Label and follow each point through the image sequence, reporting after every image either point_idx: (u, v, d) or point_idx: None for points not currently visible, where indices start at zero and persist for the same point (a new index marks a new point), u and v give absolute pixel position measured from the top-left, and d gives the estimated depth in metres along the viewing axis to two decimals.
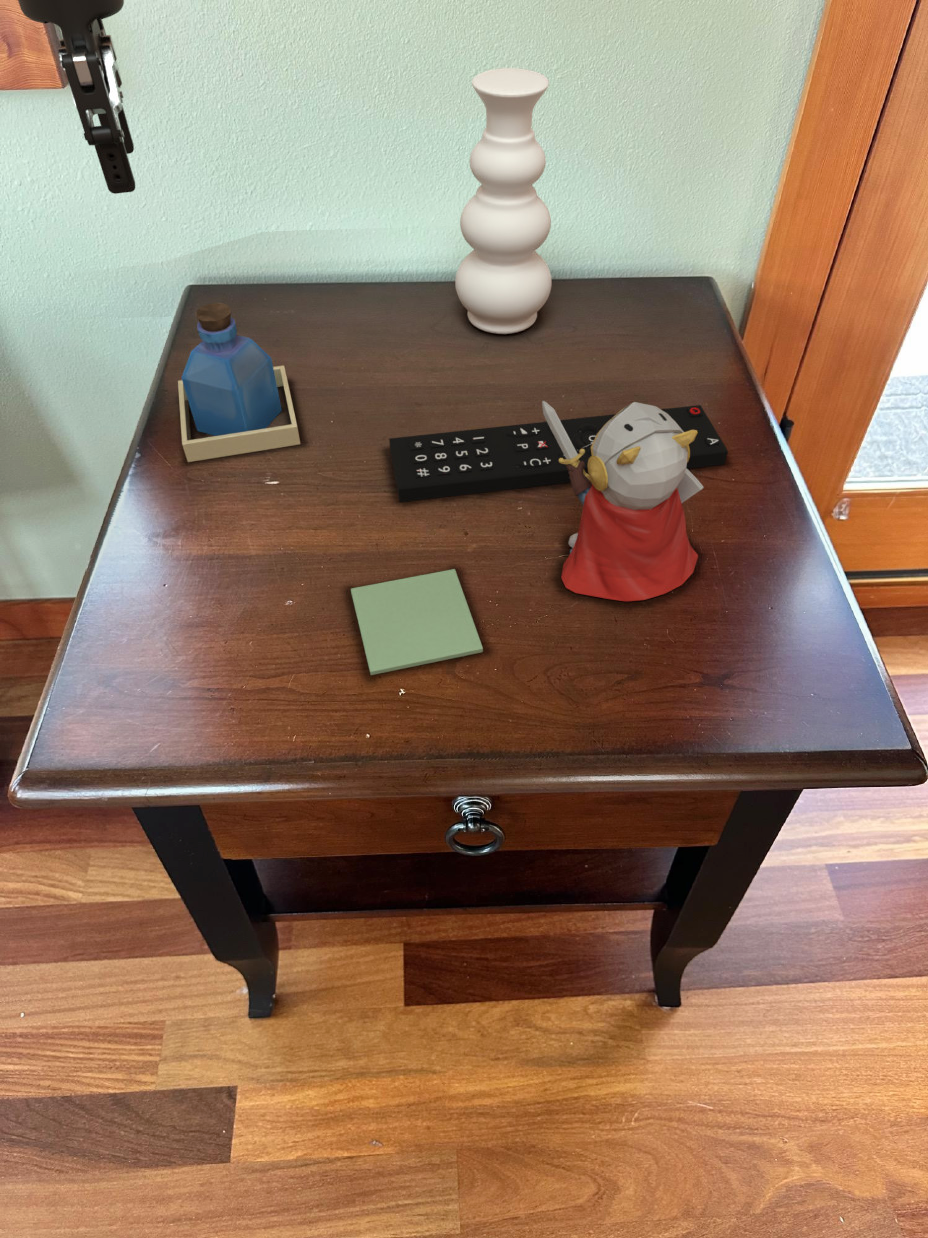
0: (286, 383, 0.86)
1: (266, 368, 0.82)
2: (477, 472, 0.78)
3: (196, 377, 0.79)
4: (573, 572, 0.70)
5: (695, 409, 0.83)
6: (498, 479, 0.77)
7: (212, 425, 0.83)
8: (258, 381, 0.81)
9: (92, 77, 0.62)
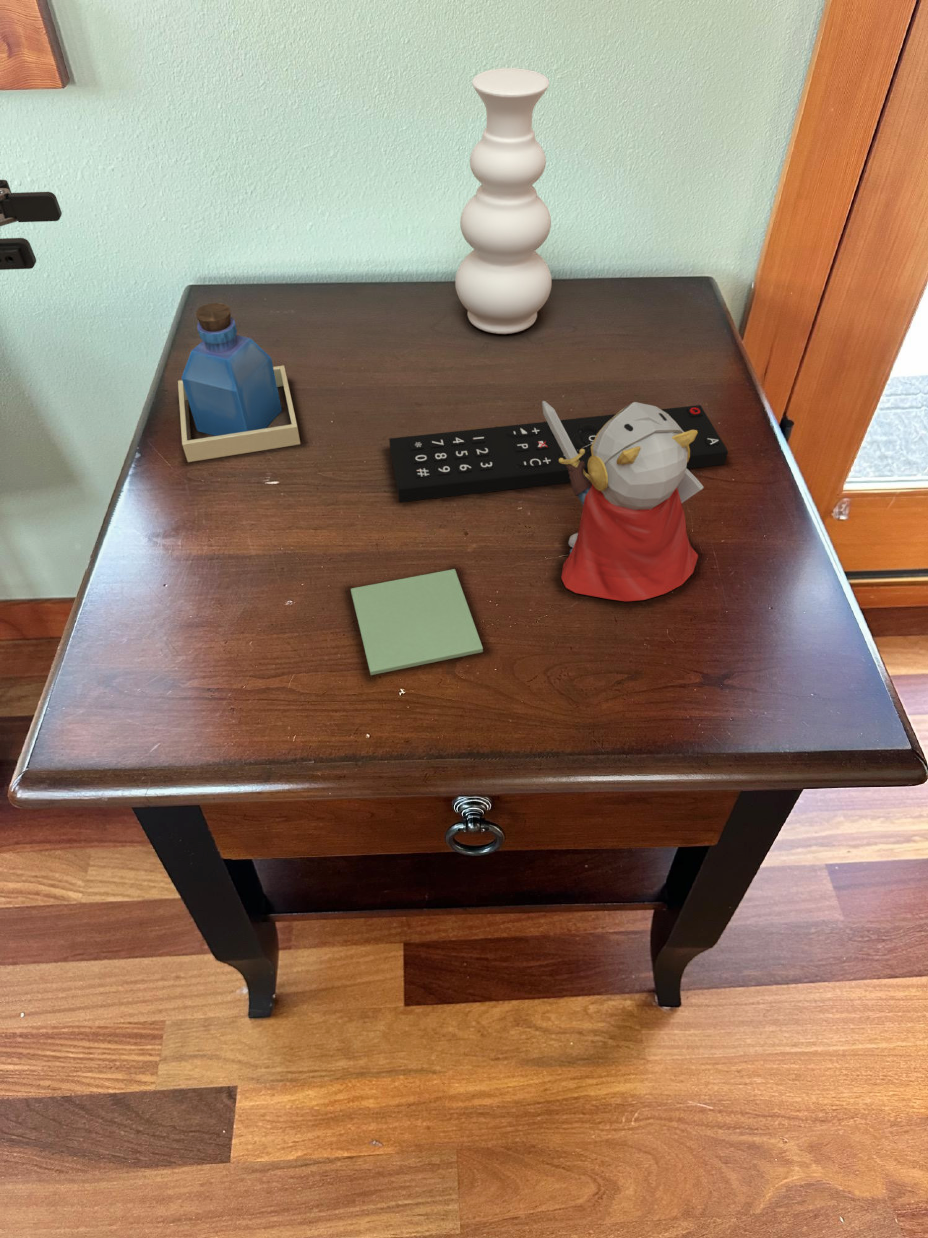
0: (286, 383, 0.86)
1: (266, 368, 0.82)
2: (477, 472, 0.78)
3: (196, 377, 0.79)
4: (573, 572, 0.70)
5: (695, 409, 0.83)
6: (498, 479, 0.77)
7: (212, 425, 0.83)
8: (258, 381, 0.81)
9: None
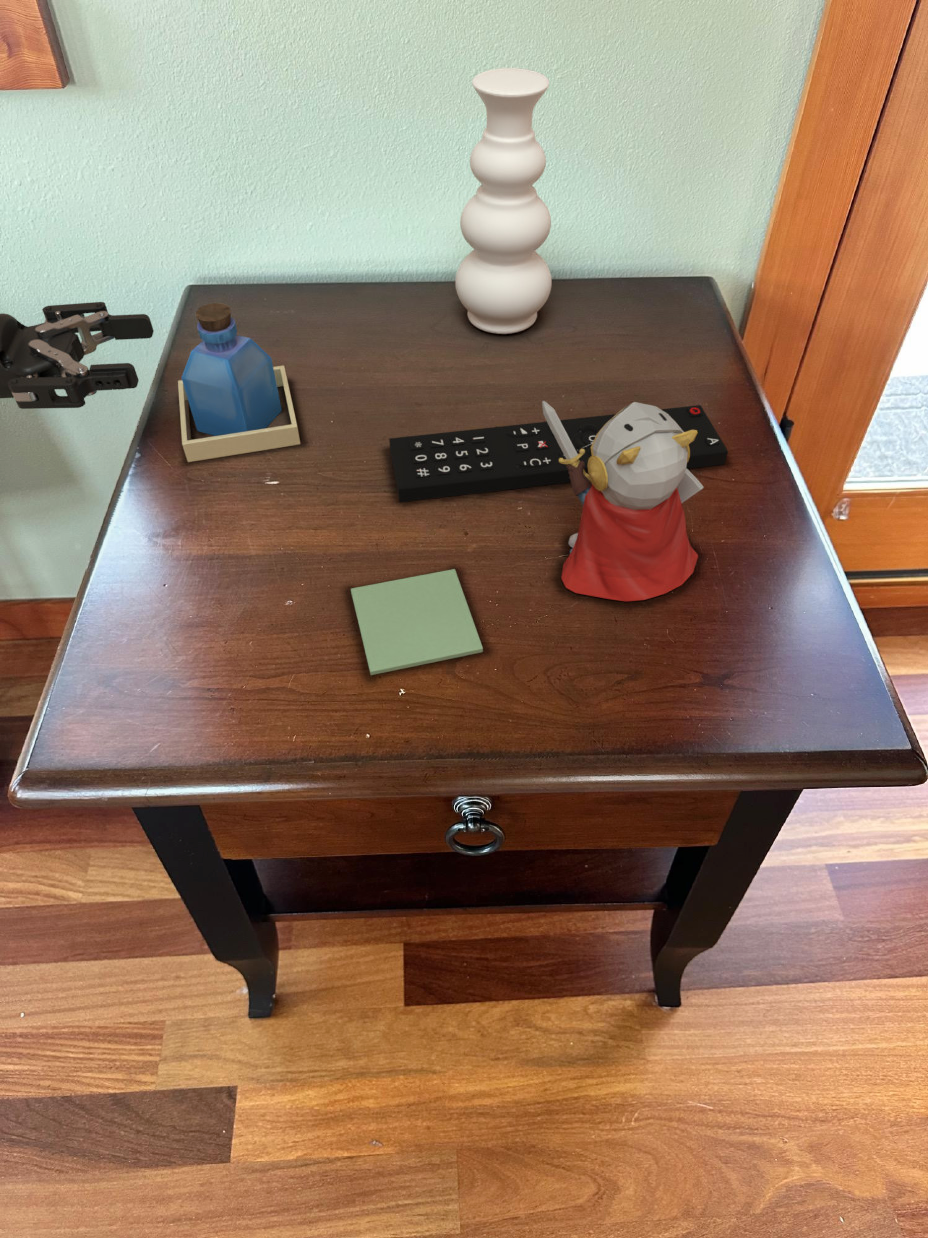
0: (286, 383, 0.86)
1: (266, 368, 0.82)
2: (477, 472, 0.78)
3: (197, 377, 0.79)
4: (573, 572, 0.70)
5: (695, 409, 0.83)
6: (498, 479, 0.77)
7: (212, 425, 0.83)
8: (258, 381, 0.81)
9: None
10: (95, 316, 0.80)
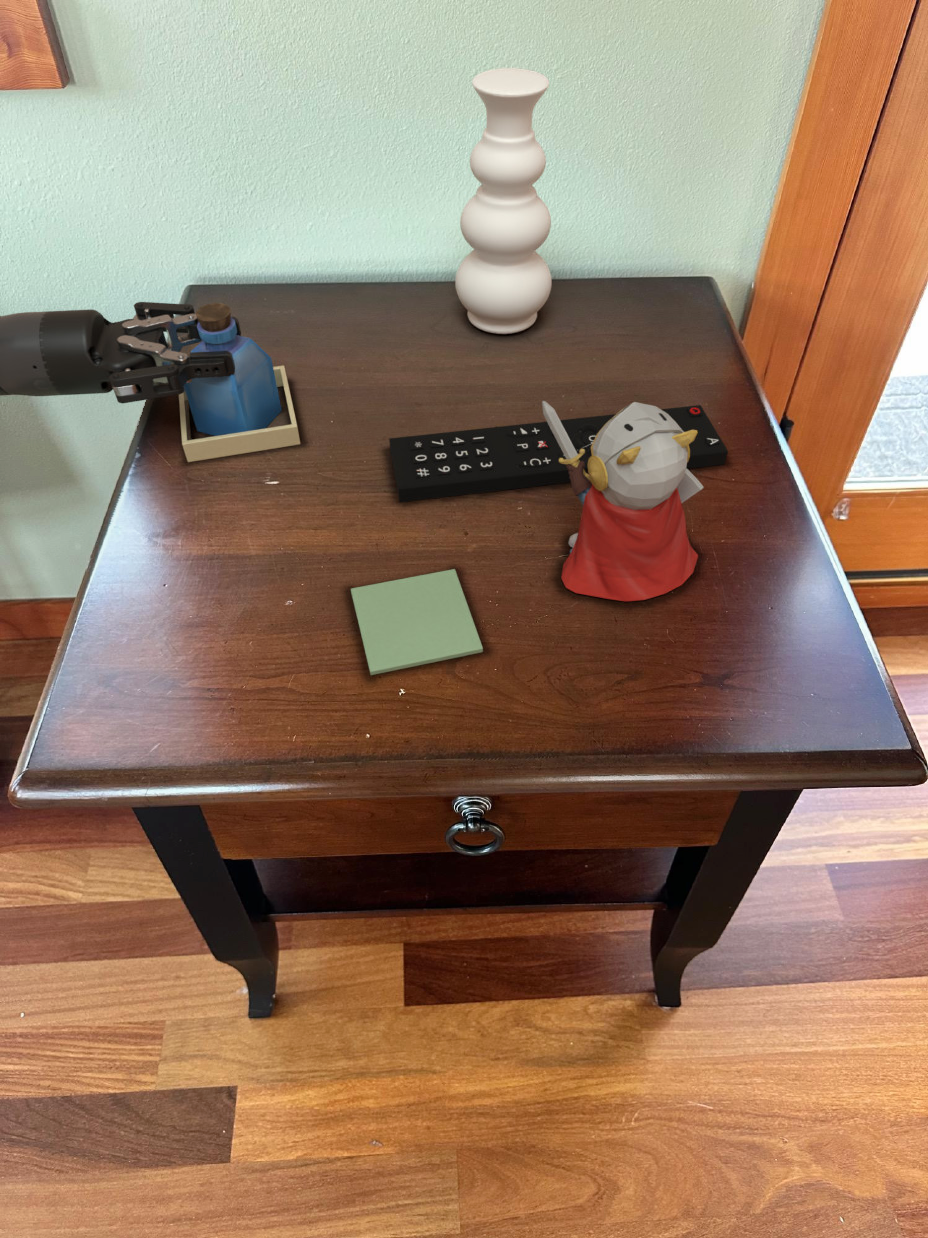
0: (286, 383, 0.86)
1: (266, 368, 0.82)
2: (477, 472, 0.78)
3: None
4: (573, 572, 0.70)
5: (695, 409, 0.83)
6: (498, 479, 0.77)
7: (212, 425, 0.83)
8: (258, 381, 0.81)
9: None
10: (184, 318, 0.80)
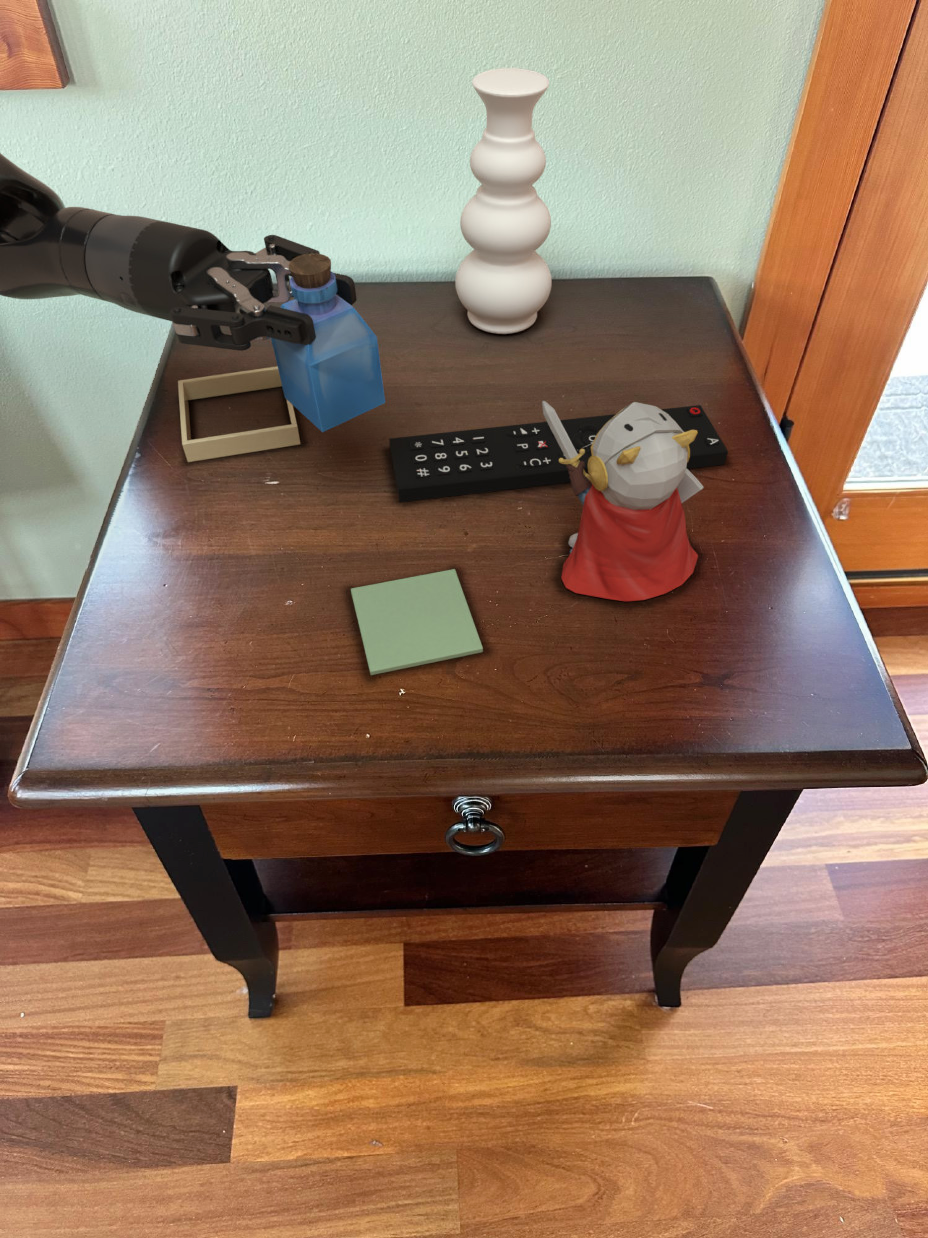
0: None
1: (366, 347, 0.66)
2: (477, 472, 0.78)
3: None
4: (573, 572, 0.70)
5: (695, 409, 0.83)
6: (498, 479, 0.77)
7: (294, 397, 0.69)
8: (348, 361, 0.65)
9: None
10: None
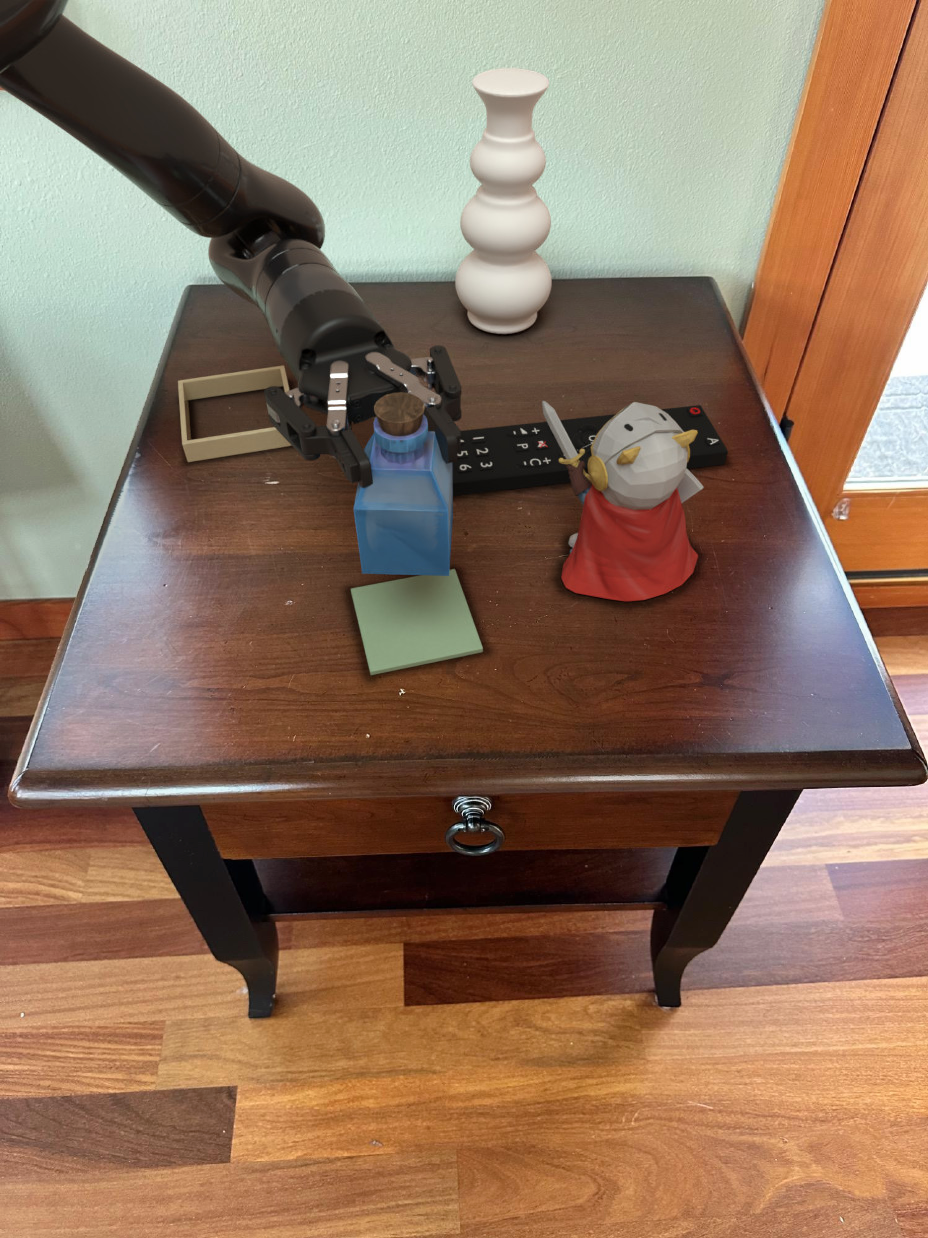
0: (286, 383, 0.86)
1: (431, 516, 0.55)
2: (477, 472, 0.78)
3: None
4: (573, 572, 0.70)
5: (695, 409, 0.83)
6: (498, 479, 0.77)
7: None
8: (405, 521, 0.55)
9: None
10: (425, 394, 0.57)
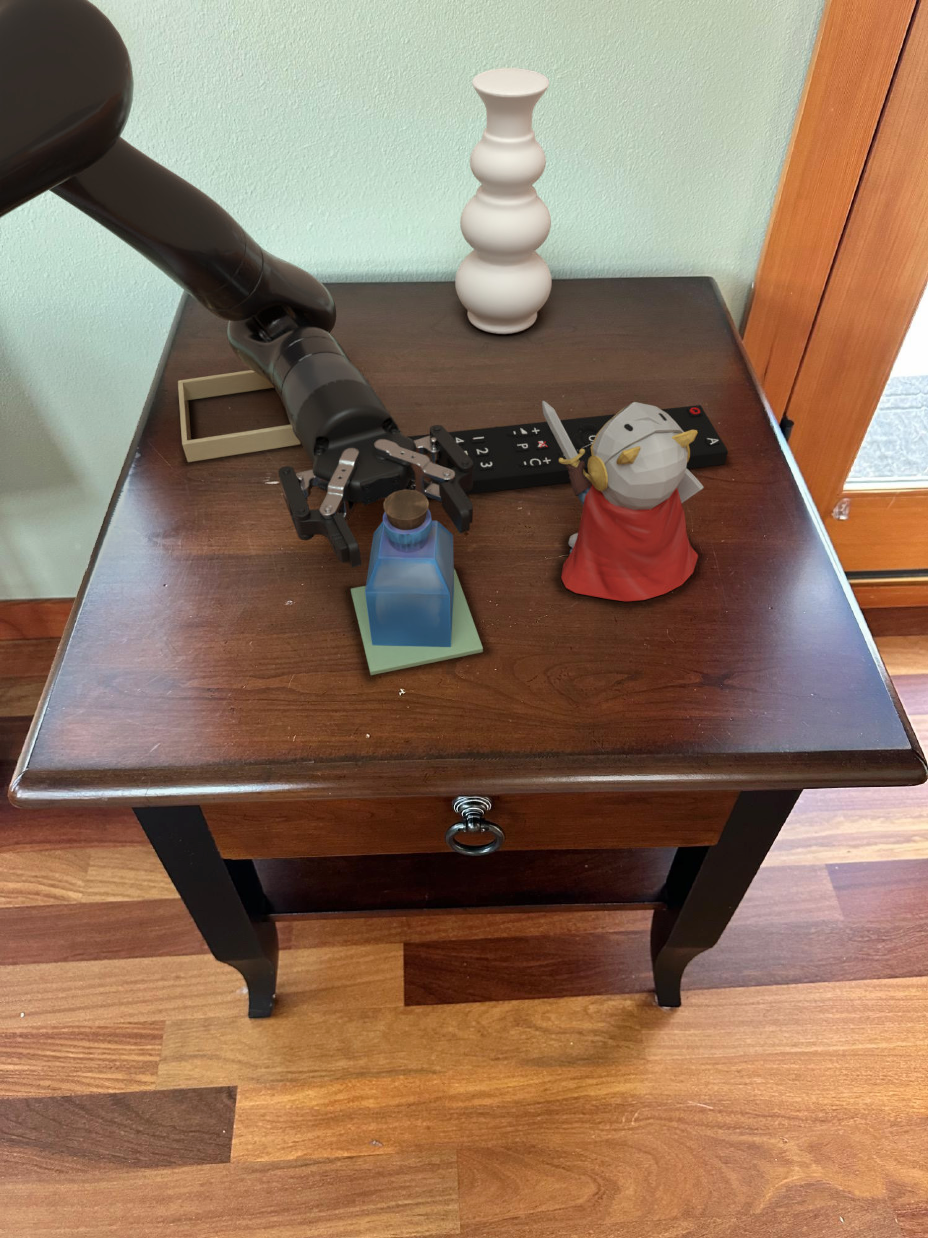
0: None
1: (434, 598, 0.61)
2: (477, 472, 0.78)
3: (372, 546, 0.64)
4: (573, 572, 0.70)
5: (695, 409, 0.83)
6: (498, 479, 0.77)
7: None
8: (411, 602, 0.62)
9: None
10: (439, 471, 0.63)
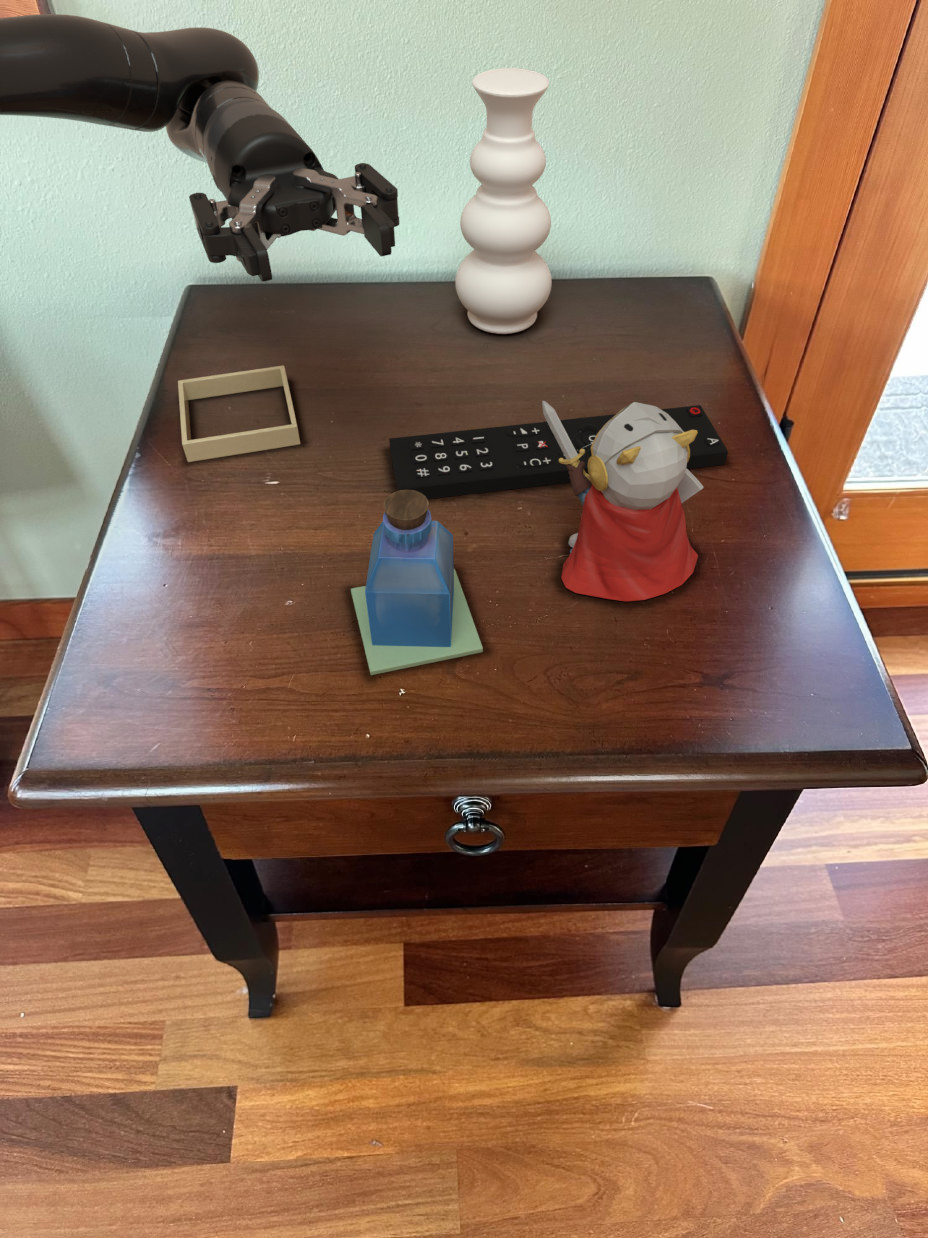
0: (286, 383, 0.86)
1: (434, 598, 0.61)
2: (477, 472, 0.78)
3: (372, 546, 0.64)
4: (573, 572, 0.70)
5: (695, 409, 0.83)
6: (498, 479, 0.77)
7: None
8: (411, 602, 0.62)
9: None
10: (361, 195, 0.59)
